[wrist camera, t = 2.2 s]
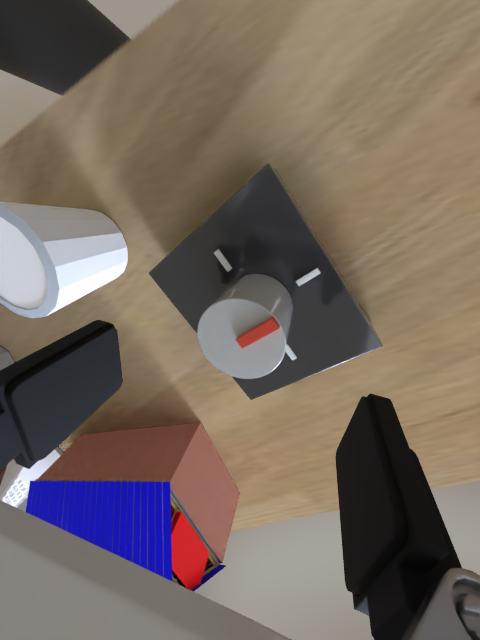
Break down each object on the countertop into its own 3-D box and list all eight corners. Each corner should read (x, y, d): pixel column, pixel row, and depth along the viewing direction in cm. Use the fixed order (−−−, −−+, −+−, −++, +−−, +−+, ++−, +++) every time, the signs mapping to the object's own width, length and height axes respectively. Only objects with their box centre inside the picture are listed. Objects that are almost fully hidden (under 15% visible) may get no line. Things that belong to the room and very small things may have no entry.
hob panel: (170, 263, 19) (146, 273, 17) (276, 169, 15) (267, 162, 12) (258, 376, 22) (250, 401, 19) (372, 324, 17) (383, 348, 15)
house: (78, 432, 34) (-23, 532, 23) (202, 419, 26) (130, 558, 16) (124, 491, 37) (53, 600, 27) (243, 494, 30) (207, 647, 20)
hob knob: (250, 348, 17) (230, 394, 13) (211, 297, 16) (177, 329, 12) (307, 318, 15) (304, 361, 11) (265, 258, 14) (246, 281, 10)
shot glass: (142, 288, 21) (72, 323, 15) (77, 284, 23) (-9, 315, 17) (124, 198, 18) (28, 197, 12) (51, 202, 20) (-65, 202, 14)
